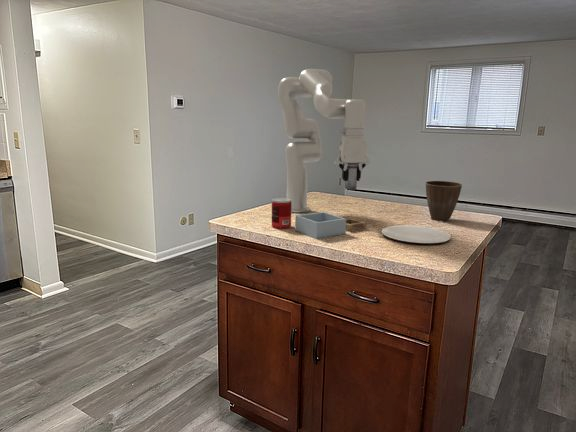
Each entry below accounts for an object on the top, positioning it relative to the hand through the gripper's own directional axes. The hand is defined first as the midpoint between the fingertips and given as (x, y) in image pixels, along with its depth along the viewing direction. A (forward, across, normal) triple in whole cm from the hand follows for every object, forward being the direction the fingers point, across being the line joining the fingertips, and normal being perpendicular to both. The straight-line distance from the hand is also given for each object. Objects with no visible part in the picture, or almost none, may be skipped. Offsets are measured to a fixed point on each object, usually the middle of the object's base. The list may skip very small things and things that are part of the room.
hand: (351, 180), depth 173 cm
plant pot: (+19, +46, +9) cm, 50 cm away
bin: (+19, -13, -5) cm, 24 cm away
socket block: (+19, +1, 0) cm, 19 cm away
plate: (+20, +21, -16) cm, 33 cm away
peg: (+3, 0, 0) cm, 3 cm away
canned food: (+20, -26, +6) cm, 33 cm away
